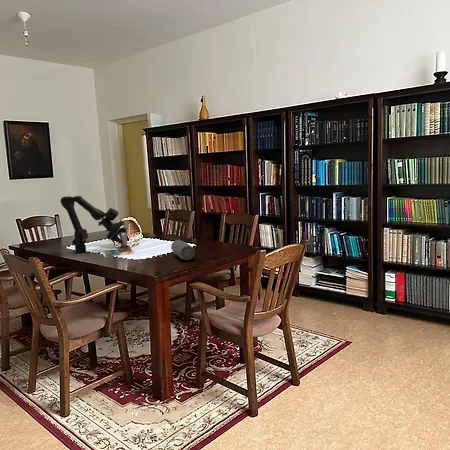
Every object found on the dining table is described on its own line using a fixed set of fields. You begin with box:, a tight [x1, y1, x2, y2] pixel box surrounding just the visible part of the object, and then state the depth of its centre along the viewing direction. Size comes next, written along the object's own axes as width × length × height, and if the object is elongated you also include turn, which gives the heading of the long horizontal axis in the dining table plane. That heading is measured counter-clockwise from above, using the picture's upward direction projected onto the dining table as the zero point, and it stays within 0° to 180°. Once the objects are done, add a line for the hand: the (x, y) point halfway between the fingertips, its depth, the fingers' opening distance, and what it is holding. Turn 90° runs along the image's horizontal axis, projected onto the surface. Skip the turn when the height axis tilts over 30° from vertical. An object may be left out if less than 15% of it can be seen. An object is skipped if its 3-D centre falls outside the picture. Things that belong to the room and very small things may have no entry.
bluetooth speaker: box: [170, 239, 195, 261], centre depth 258 cm, size 23×9×10 cm, turn 21°
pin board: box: [101, 245, 136, 258], centre depth 279 cm, size 19×18×4 cm
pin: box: [119, 232, 129, 248], centre depth 284 cm, size 4×4×12 cm
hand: (125, 241), depth 283 cm, fingers open, 9 cm apart
